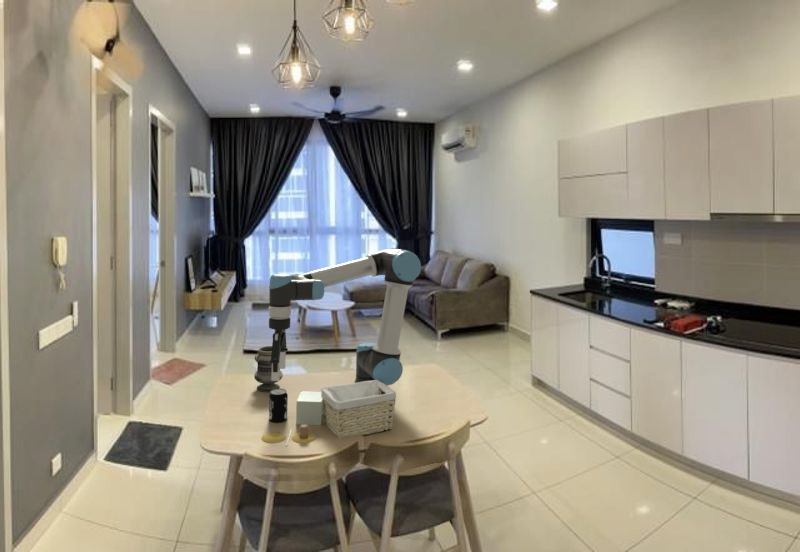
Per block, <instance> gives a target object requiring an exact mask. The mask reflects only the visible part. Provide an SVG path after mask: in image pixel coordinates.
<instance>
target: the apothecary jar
mask: <svg viewBox="0 0 800 552" xmlns="http://www.w3.org/2000/svg"><path fill="white" fill-rule="evenodd" d="M271 354H272V345H265V346H262V347H259V349H258V351H257V353H256V354H255V355H254V360H255V362H256V363H257V369H256V372H255V373H254V375H253V376H254V380H255V381H256V382H257V383H260V384H259V385H257V387H256V390H258V391H259V392H263V393H264V392H265V393H270V392H271V390H273V389H281V386H280V385H279V384H277V383H279V382H280V381H281V380H282V379H283V377H284V375H283V371H282V370H280V380H279V381H271V376H272V363H269V361H271Z"/></svg>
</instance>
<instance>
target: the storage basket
mask: <svg viewBox="0 0 800 552" xmlns="http://www.w3.org/2000/svg"><path fill="white" fill-rule="evenodd" d="M320 390H321V391H320V392H322V394H321V397H322V400H323V409H324V415H323V417H324V424H325V425H326V427H328V428H329V430H331V432H333V434H334V435H336V436H337V438H339V439H340V438H344V437H352V436H357V435H358V436H359V435H362V436H367V435H372V434H371V433H373V434H376V433H381V432H385V431H384V430H386V431H389V430H388V429H390V430H392V429H393V425H394V423H393V422H394V416H395V415H394V414H395V404H396V401H397V400H396V399H397V392H396V391H395V390H393V388H391V387H389V385H385V384H384V383H382V382H380V381H379V380H372V381H364V382H358V383H354V382H353V383H346V384H338V385H332V386H331V385H330V386H324V387H322V388H321V389H320ZM381 390H382V391H383V392H385V393H386V394H382V395H381ZM380 431H381V432H380ZM375 432H376V433H375ZM366 434H367V435H366Z"/></svg>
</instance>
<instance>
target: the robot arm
mask: <svg viewBox="0 0 800 552" xmlns="http://www.w3.org/2000/svg"><path fill="white" fill-rule="evenodd" d="M421 269H422V265H421V261H420V258H419V257H418V255H416V254H415V252H412V251H410V250H407V249H401V248H400V249H399V248H396V247H395V248H394V247H392V248H391V247H390V248H386V249H382V250H379V251H376V252H372V253H368V254H367V255H366V257H363V258H359V259H356V260H352V261H347V262H344V263H341V264H337V265H333V266H329V267H328V266H327V267H324V268H321V269H316V270H313V271H312V270H311V271H309V272H306V273H302V274H301V273H300V274H298V273H294V274H291V275H290V274H289V273H287V274H286V273H275V274H272V275H270V277H269V286H268V288H269V289H268V290H269V293H268V295H269V299H268V300H269V301H268V302H269V307H267V311H268V313H269V314H268V315H269V318H268V328H269V329H270V330H274V333H273V334H272V344H271V346H272V354H271V361H269V363H272V376H271V381H278V382H280V381H281V380H280V371H281V370H285V369H286V354H287V352H288V351H289V350H288V349H289V348H288V347H287V336H286V335H287V334H286V333H287V332H286V331H287V330H288V329H290V328H291V314H292V310H291V309H292V304H291V303H292V301H294V302H295V301H316V300H322V299H323V298H324V296H325V288H328V287H333V286H336V285H339V284H343V283H347V282H351V281H355V280H359V279H361V278H365V277H369V276H371V277H374V278H375V277H379V276H384V278H383V282H384V283H385V285H386V291H385V295H384V303H383V308H382V314H381V317H380V326H379V329H378V330H379V331H378V337H377V342H363V343H360V344H358V345H357V346H356V351H355V352H356V353H355V354H356V363H355V364H356V365H355V367H356V368H355V380H354V382H353V383H358V382H364V381H372V380H379V381H380V382H382V383H384V384H385V385H387V386H391V385H393V384H395V383H396V382H398V381H399V380H400V378H401V377H402V375H403V370H404V369H403V364H402V362H401V361H400V360H401V356H402V355H401V353H402V352H401V350H400V349H399V343H400V338H401V333H402V327H403V321H404V316H405V310H406V305H407V298H408V292H409V289H410V288H412V287H413V286H414V280H416V278H418V277H419V275H420V274H421ZM279 380H280V381H279ZM382 394H386V393H385V392H383V391H382V390H381V395H382Z"/></svg>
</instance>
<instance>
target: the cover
mask: <svg viewBox="0 0 800 552" xmlns="http://www.w3.org/2000/svg"><path fill="white" fill-rule="evenodd" d="M321 394H322V392H321V391H309V390H308V391H306V390H305V391H302V390H301V392H300V393H299V396H298V397H297V400H296V413H295V414H296V417H295V420H296V421H295V425H299V426H301V425H308V426H313V425H314V426H322V416H324V409H323V400H322V397H321Z"/></svg>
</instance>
